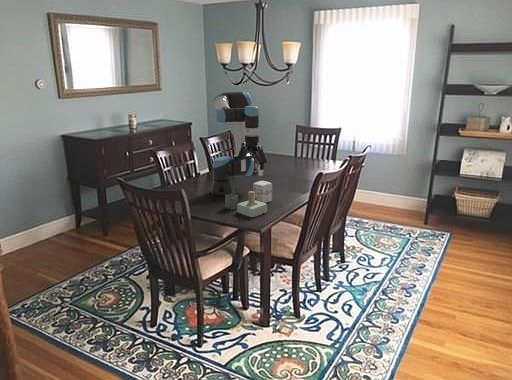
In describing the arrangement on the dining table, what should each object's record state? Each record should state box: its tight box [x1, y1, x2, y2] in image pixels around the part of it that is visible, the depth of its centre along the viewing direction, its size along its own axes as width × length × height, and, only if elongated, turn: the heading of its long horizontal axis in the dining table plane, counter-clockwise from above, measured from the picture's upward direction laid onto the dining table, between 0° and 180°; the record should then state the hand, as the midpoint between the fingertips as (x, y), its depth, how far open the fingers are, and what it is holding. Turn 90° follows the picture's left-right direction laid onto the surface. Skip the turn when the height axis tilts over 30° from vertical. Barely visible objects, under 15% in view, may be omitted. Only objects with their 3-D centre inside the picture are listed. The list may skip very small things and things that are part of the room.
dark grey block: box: [224, 193, 239, 211], centre depth 238 cm, size 6×6×8 cm
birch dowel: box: [247, 190, 255, 206], centre depth 230 cm, size 4×4×12 cm
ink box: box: [252, 180, 273, 204], centre depth 249 cm, size 9×8×12 cm
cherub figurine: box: [249, 152, 265, 174], centre depth 321 cm, size 18×18×18 cm
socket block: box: [236, 200, 268, 218], centre depth 231 cm, size 12×12×5 cm
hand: (251, 173), depth 225 cm, fingers open, 13 cm apart
